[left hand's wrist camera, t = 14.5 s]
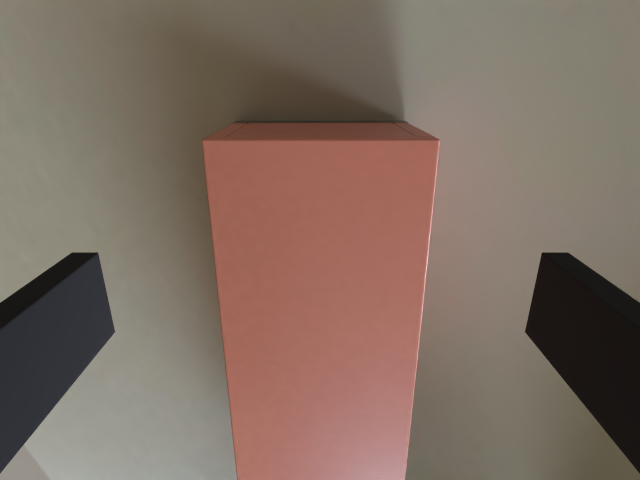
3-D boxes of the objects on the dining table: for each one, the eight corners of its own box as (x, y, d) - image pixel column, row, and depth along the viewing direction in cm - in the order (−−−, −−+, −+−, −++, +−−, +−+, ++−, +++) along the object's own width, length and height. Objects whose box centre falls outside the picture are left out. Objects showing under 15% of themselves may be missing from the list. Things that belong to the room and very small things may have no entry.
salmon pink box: (385, 391, 32) (405, 484, 24) (256, 391, 32) (237, 484, 24) (404, 120, 24) (440, 138, 17) (236, 121, 24) (201, 139, 17)
